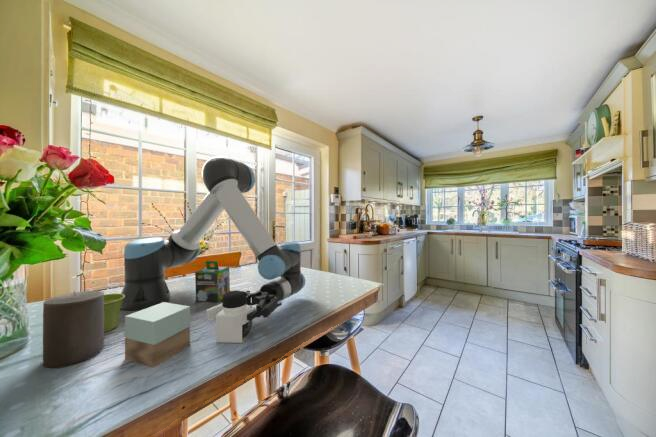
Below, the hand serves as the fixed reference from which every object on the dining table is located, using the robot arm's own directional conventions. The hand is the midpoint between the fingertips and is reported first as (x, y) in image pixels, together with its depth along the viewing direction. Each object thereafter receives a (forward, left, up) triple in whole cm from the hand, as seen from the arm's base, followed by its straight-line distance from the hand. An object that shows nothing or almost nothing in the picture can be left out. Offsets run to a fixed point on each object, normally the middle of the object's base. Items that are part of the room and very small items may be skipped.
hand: (221, 318), depth 59 cm
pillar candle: (-29, -15, -7) cm, 33 cm away
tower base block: (-12, -7, -7) cm, 15 cm away
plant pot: (-38, -5, -7) cm, 39 cm away
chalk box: (-28, +25, -7) cm, 38 cm away
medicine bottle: (0, +4, -7) cm, 8 cm away
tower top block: (-12, -7, -2) cm, 14 cm away
